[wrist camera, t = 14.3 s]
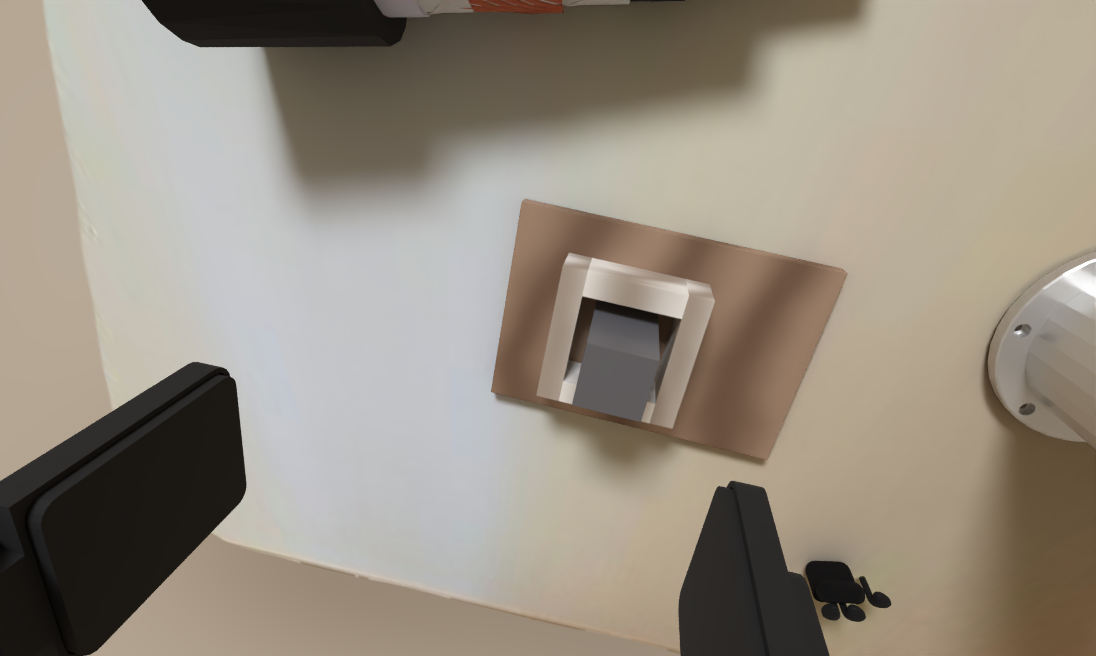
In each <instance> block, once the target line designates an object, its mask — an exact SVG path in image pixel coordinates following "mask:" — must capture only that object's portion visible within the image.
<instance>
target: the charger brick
mask: <svg viewBox="0 0 1096 656" xmlns="http://www.w3.org/2000/svg"><path fill="white" fill-rule="evenodd" d="M659 362H660V352H659V326H658V314H657V313H653V312H649V311H644V310H640V309H636V308H631V307H627V306H623V305H619V304H614V303H610V302H606V301H601V300H597V301H596V305H595V309H594V314H593V318H592V322H591V326H590V330H589V334H588V338H587V342H586V346H585V350H584V355H583V359H582V363H581V368H580V372H579V376H578V380H577V385H576V389H575V393H574V397H573V402H572V405H574V406H578V407H582V408H586V409H590V410H594V411H598V412H602V413H606V414H610V415H614V416H618V417H622V418H626V419H630V420H634V421H638V422H641V420H642V417H643V414H644V410H645V407H646V404H647V401H648V398H649V394H650V391H651V388H652V385H653V381H654V378H655V375H656V372H657V369H658V365H659Z"/></svg>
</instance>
